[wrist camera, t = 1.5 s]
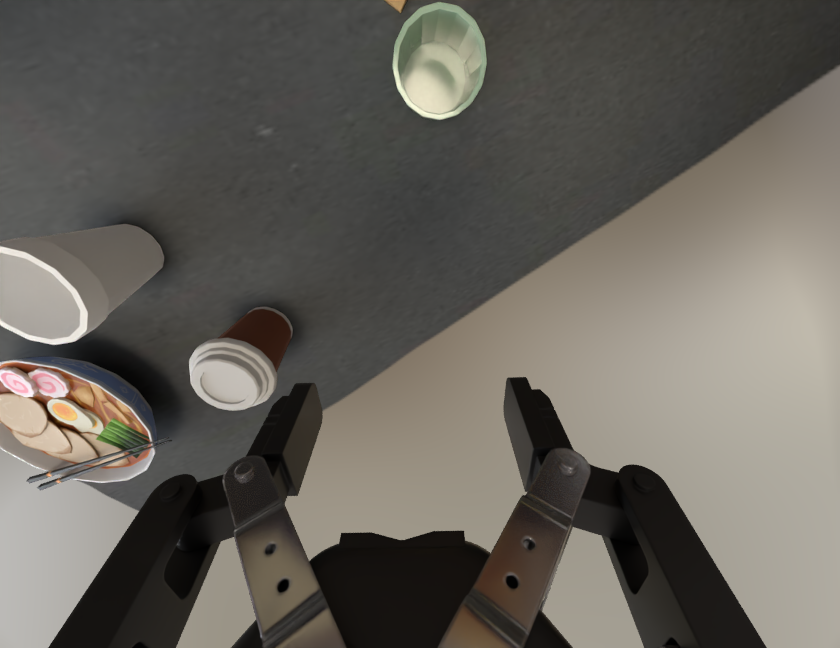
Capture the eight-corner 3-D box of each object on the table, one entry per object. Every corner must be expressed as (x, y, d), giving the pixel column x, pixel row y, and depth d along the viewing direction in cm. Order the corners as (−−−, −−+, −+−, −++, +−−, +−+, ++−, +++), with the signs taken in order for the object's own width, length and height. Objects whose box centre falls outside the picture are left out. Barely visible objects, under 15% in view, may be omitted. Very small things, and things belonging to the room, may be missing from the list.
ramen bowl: (112, 303, 44) (53, 337, 37) (222, 422, 55) (193, 466, 48) (-25, 358, 49) (-100, 397, 42) (102, 457, 59) (59, 503, 52)
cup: (388, 94, 33) (376, 83, 24) (423, 21, 30) (425, -23, 21) (443, 134, 34) (451, 137, 25) (481, 68, 32) (505, 45, 23)
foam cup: (150, 203, 38) (37, 237, 27) (192, 280, 42) (110, 336, 31) (73, 218, 39) (-68, 256, 27) (123, 291, 43) (19, 350, 32)
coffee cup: (312, 315, 45) (279, 372, 35) (291, 364, 49) (257, 428, 39) (242, 285, 43) (185, 337, 32) (227, 339, 47) (172, 400, 37)
